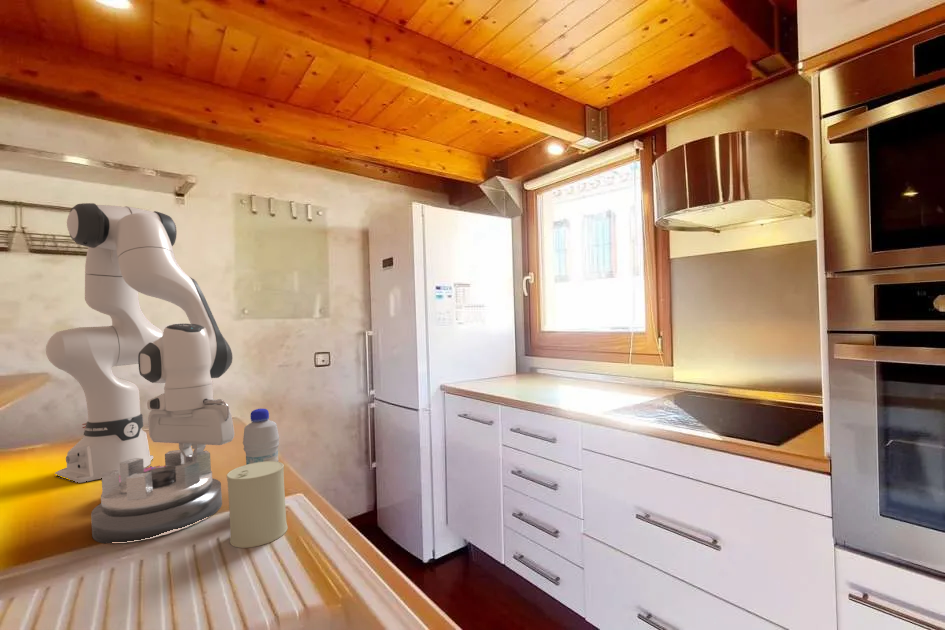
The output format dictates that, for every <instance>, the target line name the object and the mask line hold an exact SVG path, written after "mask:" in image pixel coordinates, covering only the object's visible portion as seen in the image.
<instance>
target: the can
mask: <svg viewBox="0 0 945 630" xmlns="http://www.w3.org/2000/svg"><path fill="white" fill-rule="evenodd" d="M284 467H285V465H284V463H282V462H281V461H278V462H277V461H265V462H257V463H252V464H247V465H246V464H245V465H241V466H238V467H236V468H233V469H232V470H230V471H229V472H227V474H226V482H227V493H228V506H229V507H228V509H229V529H230V531H229V532H230V535H229V537H230V538H229V543H230V545H231V546H233V547H235V548H241V549H246V548H247V549H248V548H256V547H259V546H263V545H267V544H270V543H272V542H274V541H276V540H278V539H280V538H281V537H283V536H284V535H285V534H286V533H287V532H288V524H287V512H286V511H287V510H286V495H285V494H286V493H285V491H286V490H285V473H284V470H285V469H284Z"/></svg>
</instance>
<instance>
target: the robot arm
mask: <svg viewBox="0 0 945 630" xmlns="http://www.w3.org/2000/svg"><path fill="white" fill-rule="evenodd" d="M66 226H67V227H66V228H67V231H68V234H69V236H70V238H71V240H73V242H75V243H76V244H77V245H79V246H83V247H87V251H86V257H85V266H84V269H85V270H84V301H85V303H86V304H87V306H88V307H89V308H91V309H92V310H95V311H96V312H99V313H101V314H103V315H107V316H109V317H110V319H111V325H107V326H103V325H102V326H84V327H83V326H82V327H80V326H79V327H75V328H69V329H65V330H61V331H60V330H59V331H56V332H55V333H54V334H52V336H50V338H49V339H48V341H47V344H46V346H45V354H46V358H47V360H48V361H49V362H50V364H52V365H53V366H54V367H55V368H57V369H58V370H62V371H63V372H66V373H67V374H68V375H71V376H72V378H74V380H76V381H77V383H78V384H79V385H80V387H81V388H82V391H83V392H84V396H85V402H86V409H87V410H86V411H87V422H85V423H82V424H81V425H82V429H84V432H83V437H82V438H81V439H79V441H78V442H76V444H75V445H74V446H73V447H71V448H70V450H68V452H67V455H65V456H66V457H65V461H66V467H65V468H63V469H62V468H61V469H60V470H58V471H55V472H54V475H55V474H57V475H59V476H62V477H65V478H68V479H70V480H73V481H75V482H74V483H77V482H78V484H79V483H80V484H81V483H87V482H92V481H95V480H102V479H101V478H102V475H101V473H104V472H108V471H113V470H118V472H119V475H120V463H121V462H124V461H127V460H130V459H133V458H141V459H143V465H144V468H147V467H150V466H151V464H152V463H151V462H152V461H153V460H154V459H153V458H154V455H151V453H150V448H149V447H150V445H149V441H148V437H147V436H148V435H147V432H146V431H144V430H143V427H144V417H143V414H142V413H141V401H140V399H141V397H140V389H139V387H138V385H137V384H136V383H135V382H132V381H130V380H127V379H124V378H121V377H117V376H116V375H115V374H114V373H113V367H120V366H121V367H122V366H130V365H138V372H139V375H140V377H142V378H143V379H145V380H147V382H150V383H152V384H164V386H163V387H164V388H163V389H164V393H161V394H159V395H157V396H155V397H152V398H150V399H148V400H147V402H146V407H147V409H148V410H149V413H148V433H149V438H150V439H151V441H152V442H153V443H164V444H165V443H166V444H168V443H169V444H178V450H180V451H181V453H182V454H183V456H184V463H187V462H194V453H197V452H202V451H205V448H206V446H208V445H210V446H211V445H212V446H221V445H225V444H228V443H230V442H232V441H233V439H234V438H235V427H234V421H233V417H232V412H231V410H230V406H229V404H228V403H227V402H225V400H223V399H220V398H219V399H214V385H213V384H214V383H213V379H219V378H220V377H221V376H223V375H224V374H225V373H226V372H227V371H228V369H230V367H231V365H232V363H233V352H232V349H231V346H230V345H229V342H228V341H227V340H226V338H225V337H224V336H223V334H222V332H221V331H220V328H219V326H218V324H217V322H216V319H215V317H214V315H213V312H212V310H211V308H210V305H209V304H208V303H209V302H207V300H206V296H205V295H204V293H203V291H202V289H201V286H200V285H199V284H198V282H197V281H196V279H194V278H192V277H190V276H189V275H188V274H187V273H186V272H185V271H184V270H183V269H182V268H181V266H180V265H179V263H178V260H176V256H175V252H174V248H173V247H174V245H175V243H176V241H177V226H176V223H175V221H174V220H173V218H172V217H171V216H170V215H168V214H166V213H163V212H159V211H157V210H154V211H151V210H147V209H143V208H138V207H134V206H121V205H109V204H108V205H107V204H96V203H93V202H90V203H87V202H86V203H85V202H84V203H83V202H82V203H77V204H75V205H74V206H73V207H71V209H70V210H69V213H68V216H67V219H66ZM139 293H140V294H143V295H145V296H149V297H152V298H155V299H159V300H163V301H166V302H168V303H171V304H174V305H175V306H177V307H179V308H180V309H181V310H182V311H184V313H185V314H186V317H187V319H188V321H189V323H174V324H170V325H167V326H165V327H164V329H163V330H162V329H160V327H158V326H156V325H155V324H153V323H152V322H151V321H150V320H149V319H148V318H147V317H146V316H145V313H143V310H142V308H141V305H140V298H139V297H140V295H139ZM152 459H153V460H152ZM151 460H152V461H151ZM70 480H69V481H70ZM73 481H72V482H73ZM86 481H87V482H86Z"/></svg>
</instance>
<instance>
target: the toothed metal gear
mask: <svg viewBox="0 0 945 630" xmlns="http://www.w3.org/2000/svg"><path fill="white" fill-rule="evenodd" d="M164 463H165V464H164V466H165V467H161V468H156V469H152V470H149V471H146V472H144V465H143V459H141V458H133V459H130V460H127V461H124V462H121V463H120V481H121V482H119V472H118V470H113V471H108V472H104V473H101V475H102V479H101V489H102V490H101V494H100V502H101V503H100V504H101V507H102V512H103V513H105V514H108V515H116V516H124V515H136V514H143V513H148V512H153V511H158V510H162V509H166V508H170V507H173V506H176V505H179V504H182V503H185V502H188V501H190V500H192V499H195V498H197V497H199V496H201V495H203V494H204V493H206V492H207V491H209V490H210V489H211V487H212V485H213V482H212V478H213V471H212V464H211V452H209V450H207V449H206V450H204V451H202V452H197V453H194V462H187V463H184V456H183V454H182V453H181V451H180V449H175V450H174V449H173V450H169V451H167V452H166V453H165V454H164Z"/></svg>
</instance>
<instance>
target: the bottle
mask: <svg viewBox="0 0 945 630" xmlns="http://www.w3.org/2000/svg"><path fill="white" fill-rule="evenodd" d="M243 430H244V431H243V437H242V438H243V439H242V444H243V450H244V452H245V465H247V464H252V463H257V462H265V461H277V462H279V449H278V447H279V445H280V435H279V430H278V426H277V423H276V422H275V421H273V420H270V413H269V410H268V409H266V408H256V409H253V410H251V412H250V423H248V424H247V425H245V427H244V428H243Z"/></svg>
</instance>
